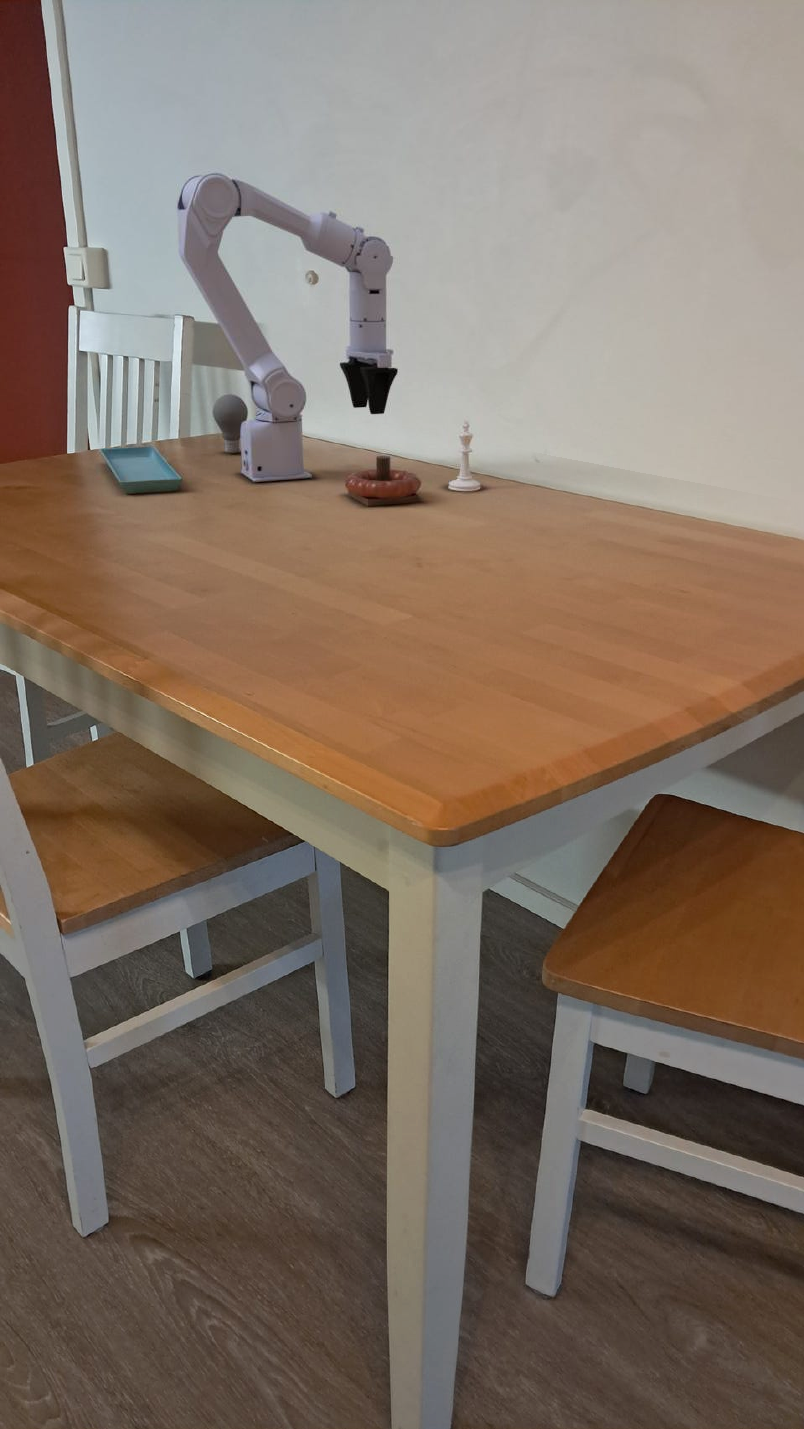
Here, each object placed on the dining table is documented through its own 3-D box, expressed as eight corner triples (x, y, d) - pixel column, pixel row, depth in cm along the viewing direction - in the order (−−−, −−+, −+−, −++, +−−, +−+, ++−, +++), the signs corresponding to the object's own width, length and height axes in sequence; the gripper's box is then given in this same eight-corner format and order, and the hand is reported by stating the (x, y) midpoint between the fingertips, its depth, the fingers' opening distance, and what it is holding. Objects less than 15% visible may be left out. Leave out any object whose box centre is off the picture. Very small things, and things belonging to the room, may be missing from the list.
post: (367, 506, 150) (367, 463, 148) (347, 495, 157) (347, 453, 155) (419, 502, 153) (420, 459, 151) (397, 490, 160) (398, 450, 158)
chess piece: (443, 489, 161) (445, 421, 157) (453, 483, 165) (455, 417, 161) (475, 492, 159) (477, 423, 155) (484, 486, 164) (487, 419, 160)
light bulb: (221, 449, 190) (217, 391, 186) (253, 450, 190) (250, 392, 186) (211, 455, 185) (207, 396, 181) (244, 456, 184) (241, 397, 180)
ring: (361, 502, 148) (360, 485, 147) (336, 486, 158) (335, 470, 157) (432, 496, 152) (432, 479, 151) (403, 481, 161) (403, 465, 160)
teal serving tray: (183, 492, 158) (182, 475, 157) (121, 496, 155) (119, 479, 154) (155, 460, 180) (154, 445, 179) (100, 463, 177) (98, 448, 176)
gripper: (410, 323, 161) (409, 415, 167) (374, 317, 173) (374, 403, 179) (366, 324, 158) (367, 417, 164) (333, 317, 171) (335, 405, 176)
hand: (368, 410), depth 171 cm, fingers open, 7 cm apart
